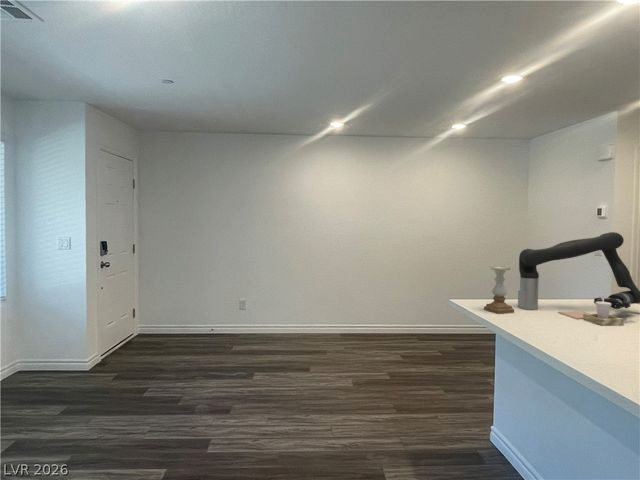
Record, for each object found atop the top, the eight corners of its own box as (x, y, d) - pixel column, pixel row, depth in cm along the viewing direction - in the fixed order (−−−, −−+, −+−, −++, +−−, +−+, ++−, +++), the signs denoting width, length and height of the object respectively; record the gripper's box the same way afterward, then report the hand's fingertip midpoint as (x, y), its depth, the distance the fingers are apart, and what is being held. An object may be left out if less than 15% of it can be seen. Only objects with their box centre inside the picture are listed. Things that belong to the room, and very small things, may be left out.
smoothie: (608, 321, 198) (609, 293, 198) (612, 324, 192) (614, 295, 192) (592, 320, 200) (594, 292, 200) (597, 323, 194) (598, 294, 194)
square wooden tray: (601, 325, 190) (601, 319, 190) (583, 319, 201) (583, 313, 201) (623, 325, 191) (623, 319, 191) (604, 319, 203) (604, 313, 202)
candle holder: (499, 308, 227) (500, 266, 226) (514, 312, 217) (515, 268, 216) (483, 309, 224) (484, 266, 223) (498, 314, 213) (499, 268, 212)
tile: (576, 319, 202) (576, 317, 202) (557, 313, 216) (557, 311, 216) (602, 318, 204) (602, 317, 204) (581, 312, 218) (581, 311, 218)
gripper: (603, 291, 213) (590, 294, 204) (636, 295, 202) (624, 298, 192) (602, 305, 214) (589, 309, 204) (635, 310, 202) (623, 314, 193)
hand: (606, 304), depth 198 cm, fingers open, 8 cm apart
